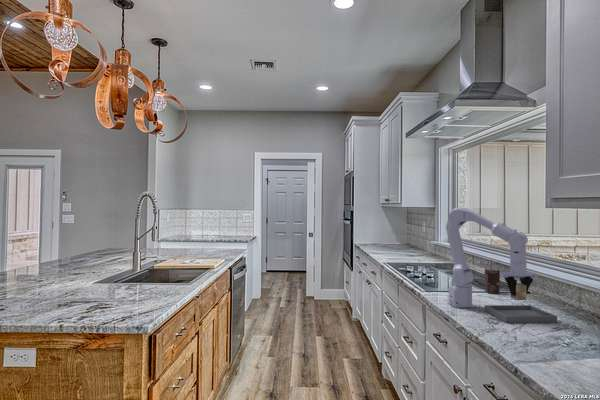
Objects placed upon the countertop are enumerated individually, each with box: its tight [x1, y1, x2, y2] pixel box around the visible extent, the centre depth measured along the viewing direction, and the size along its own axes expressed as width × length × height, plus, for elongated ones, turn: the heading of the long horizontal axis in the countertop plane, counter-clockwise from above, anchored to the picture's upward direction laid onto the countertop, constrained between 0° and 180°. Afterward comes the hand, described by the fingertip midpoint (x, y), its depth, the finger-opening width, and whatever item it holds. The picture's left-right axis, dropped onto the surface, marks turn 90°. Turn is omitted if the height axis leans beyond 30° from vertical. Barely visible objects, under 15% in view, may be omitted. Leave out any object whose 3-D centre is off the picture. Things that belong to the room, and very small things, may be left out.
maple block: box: [510, 282, 527, 301], centre depth 152 cm, size 4×4×6 cm
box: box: [484, 268, 501, 294], centre depth 191 cm, size 6×4×12 cm
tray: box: [484, 304, 558, 324], centre depth 150 cm, size 20×16×2 cm
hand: (518, 295), depth 151 cm, fingers closed on maple block, 4 cm apart
